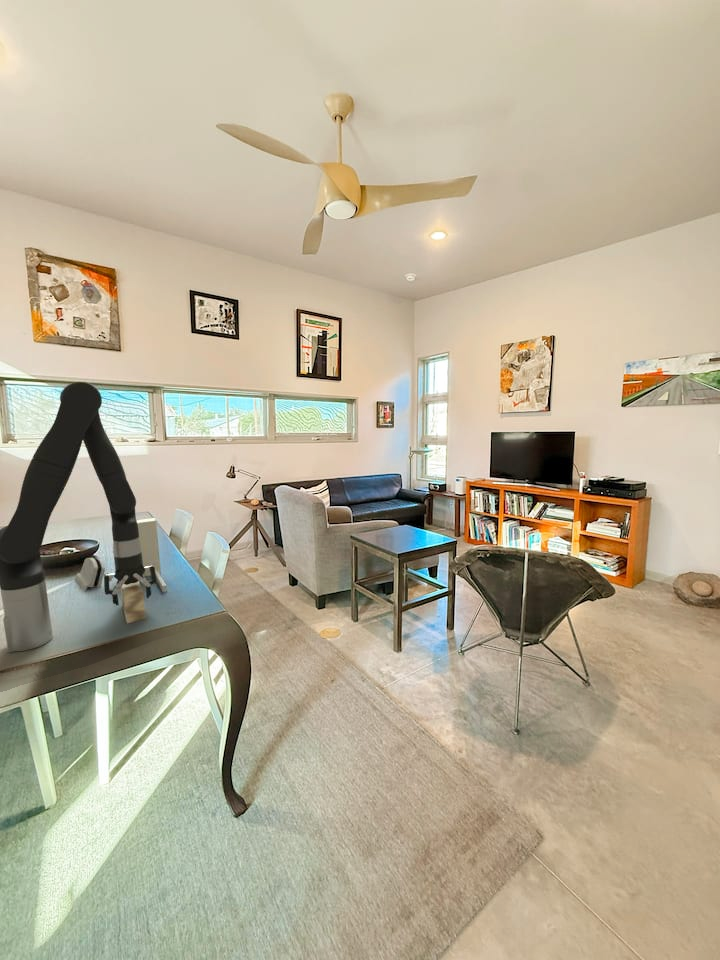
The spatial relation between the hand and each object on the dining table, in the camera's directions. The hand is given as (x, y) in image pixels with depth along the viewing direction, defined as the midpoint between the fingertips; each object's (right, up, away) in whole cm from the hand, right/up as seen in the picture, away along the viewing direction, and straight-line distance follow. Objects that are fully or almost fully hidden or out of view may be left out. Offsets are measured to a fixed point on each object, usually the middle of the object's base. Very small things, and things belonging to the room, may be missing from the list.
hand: (132, 600), depth 124 cm
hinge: (-31, -1, +25) cm, 40 cm away
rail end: (0, -4, 0) cm, 4 cm away
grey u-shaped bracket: (-8, 0, +23) cm, 24 cm away
